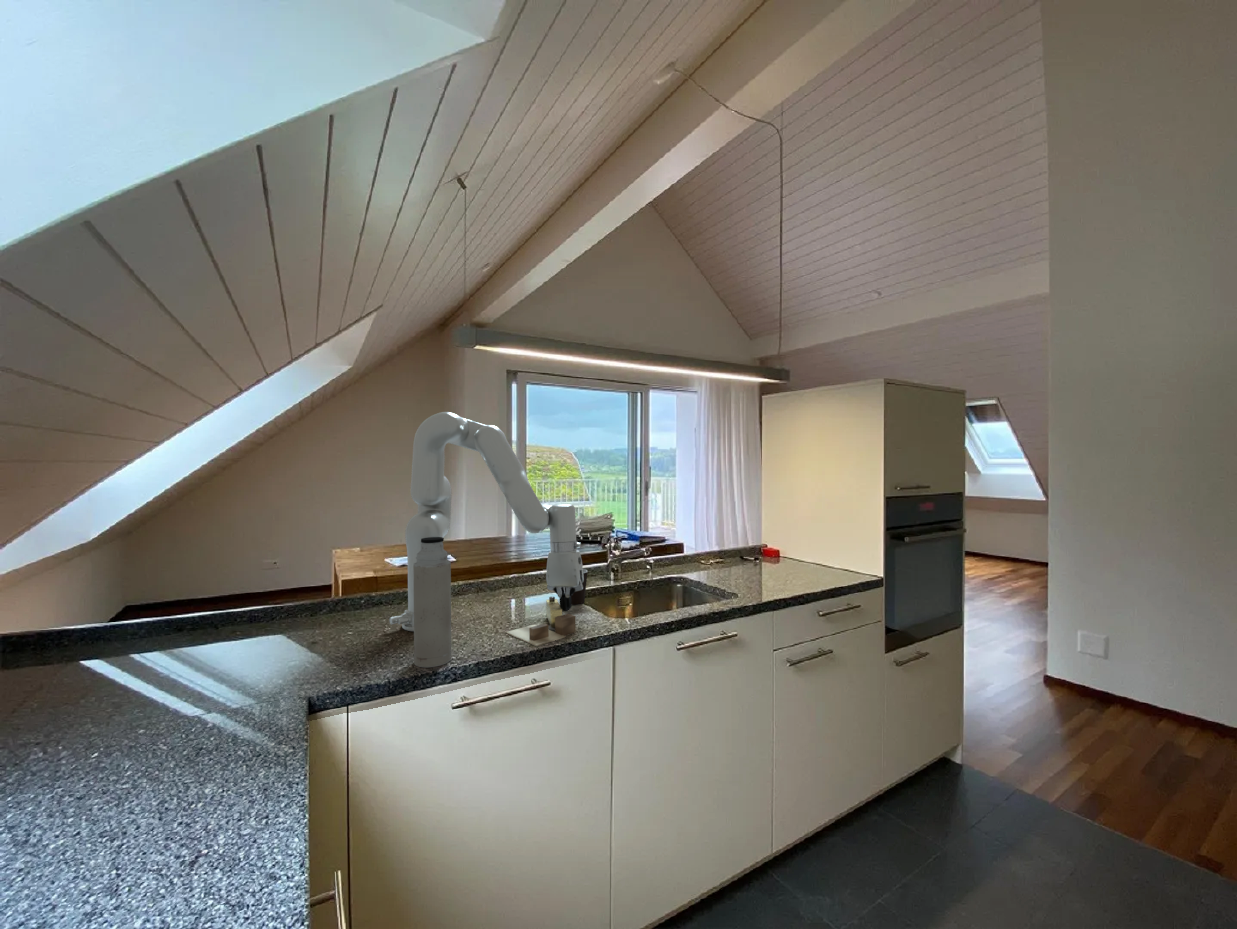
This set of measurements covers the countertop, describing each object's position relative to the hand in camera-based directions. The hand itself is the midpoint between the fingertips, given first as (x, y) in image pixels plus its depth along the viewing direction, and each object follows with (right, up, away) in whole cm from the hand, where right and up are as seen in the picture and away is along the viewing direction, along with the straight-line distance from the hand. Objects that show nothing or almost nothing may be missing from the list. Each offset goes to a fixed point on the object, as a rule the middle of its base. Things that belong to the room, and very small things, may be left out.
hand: (565, 610), depth 147 cm
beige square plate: (-4, -2, -13) cm, 14 cm away
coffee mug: (+1, -3, +19) cm, 19 cm away
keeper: (-5, -2, -17) cm, 18 cm away
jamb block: (+1, -2, -13) cm, 13 cm away
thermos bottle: (-27, -3, -31) cm, 41 cm away
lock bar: (-3, -2, -4) cm, 5 cm away
